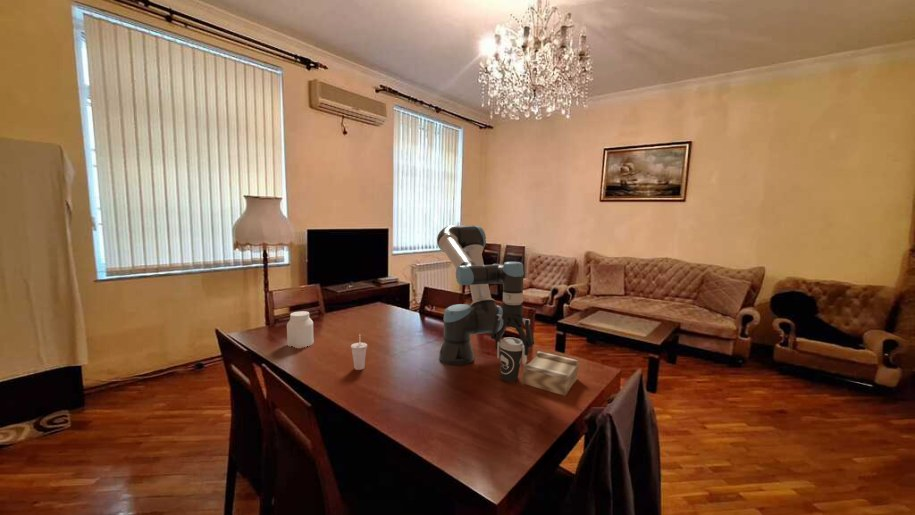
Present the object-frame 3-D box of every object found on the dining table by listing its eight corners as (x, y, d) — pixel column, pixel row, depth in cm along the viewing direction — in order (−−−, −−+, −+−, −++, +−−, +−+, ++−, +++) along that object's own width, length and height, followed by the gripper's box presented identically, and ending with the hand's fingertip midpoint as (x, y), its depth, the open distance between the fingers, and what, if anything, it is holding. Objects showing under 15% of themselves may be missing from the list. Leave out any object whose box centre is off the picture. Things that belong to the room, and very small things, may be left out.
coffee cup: (521, 385, 129) (524, 347, 127) (495, 381, 131) (498, 344, 129) (521, 374, 138) (524, 338, 136) (497, 370, 140) (500, 335, 138)
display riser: (522, 383, 131) (523, 364, 130) (537, 368, 144) (538, 351, 143) (565, 395, 122) (566, 375, 121) (577, 378, 135) (578, 360, 135)
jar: (317, 343, 167) (316, 313, 166) (299, 349, 159) (298, 317, 157) (301, 338, 173) (300, 309, 171) (283, 344, 165) (282, 314, 163)
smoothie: (370, 366, 143) (370, 333, 141) (360, 372, 137) (359, 338, 135) (358, 363, 145) (358, 331, 144) (347, 369, 140) (347, 335, 138)
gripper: (482, 301, 134) (481, 357, 136) (537, 308, 122) (536, 370, 124) (491, 297, 140) (490, 351, 142) (544, 304, 128) (543, 363, 130)
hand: (511, 360), depth 133 cm, fingers open, 10 cm apart
